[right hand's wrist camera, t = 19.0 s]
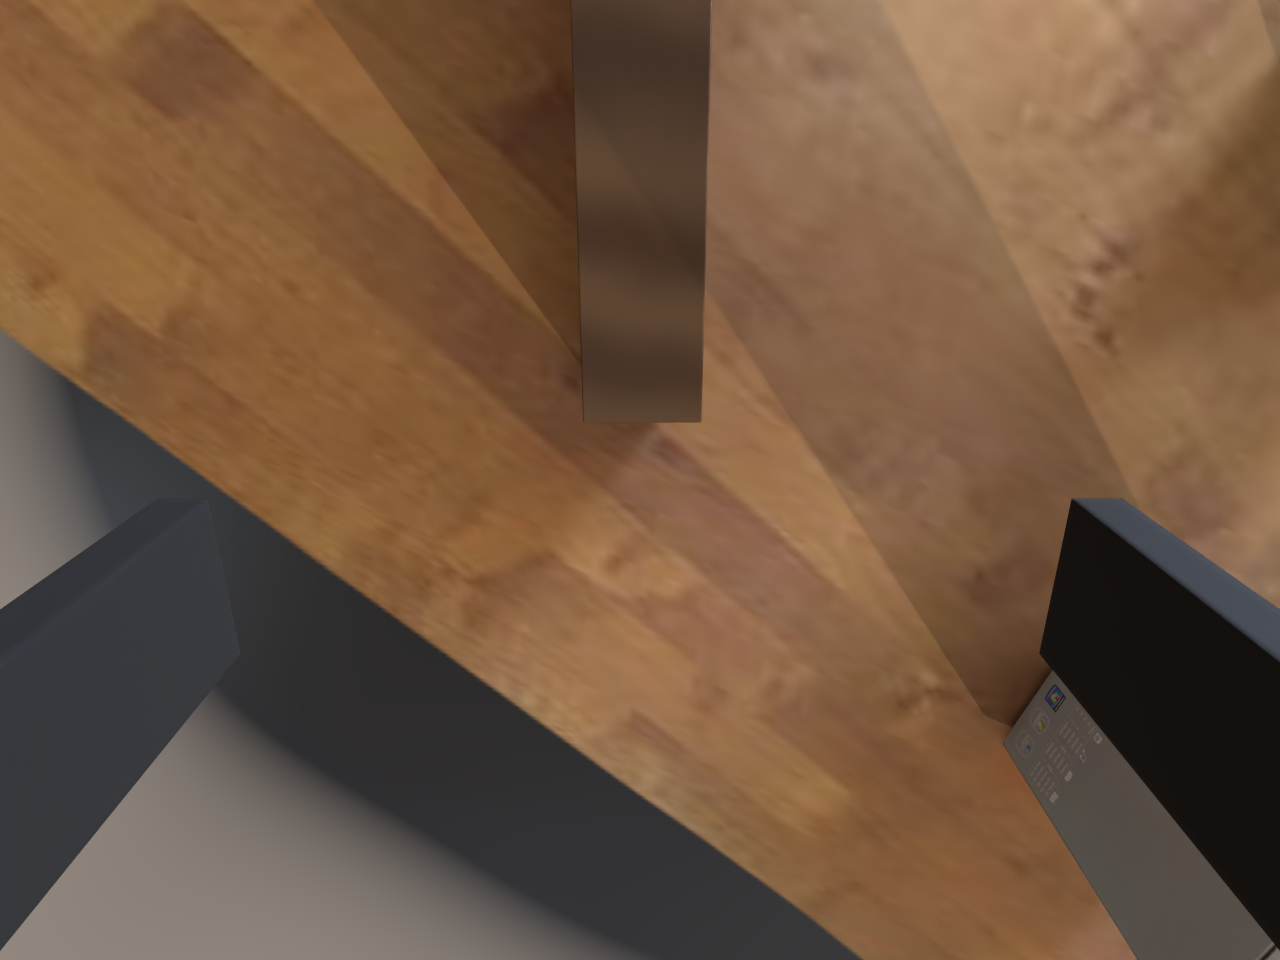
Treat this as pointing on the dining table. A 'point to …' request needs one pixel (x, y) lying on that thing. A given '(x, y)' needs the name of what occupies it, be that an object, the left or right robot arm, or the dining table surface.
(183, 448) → the dining table surface
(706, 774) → the dining table surface
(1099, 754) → the hard drive box
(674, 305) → the bar
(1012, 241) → the dining table surface
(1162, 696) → the right robot arm
